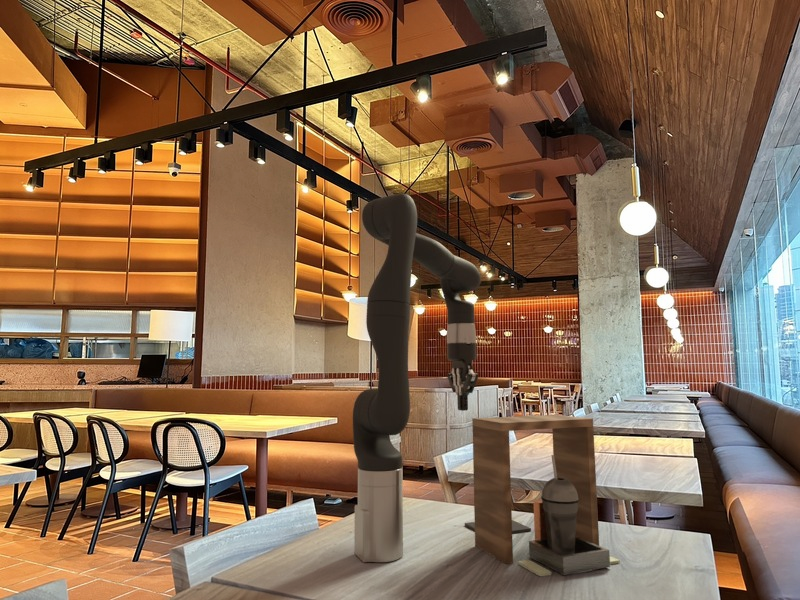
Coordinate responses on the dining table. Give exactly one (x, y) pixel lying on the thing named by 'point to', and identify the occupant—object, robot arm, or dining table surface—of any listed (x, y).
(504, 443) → the tunnel
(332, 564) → the dining table surface
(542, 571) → the pair of cream slabs
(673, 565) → the dining table surface
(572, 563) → the shallow grey tray
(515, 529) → the dark grey slab
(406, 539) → the dining table surface
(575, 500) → the beverage cup
